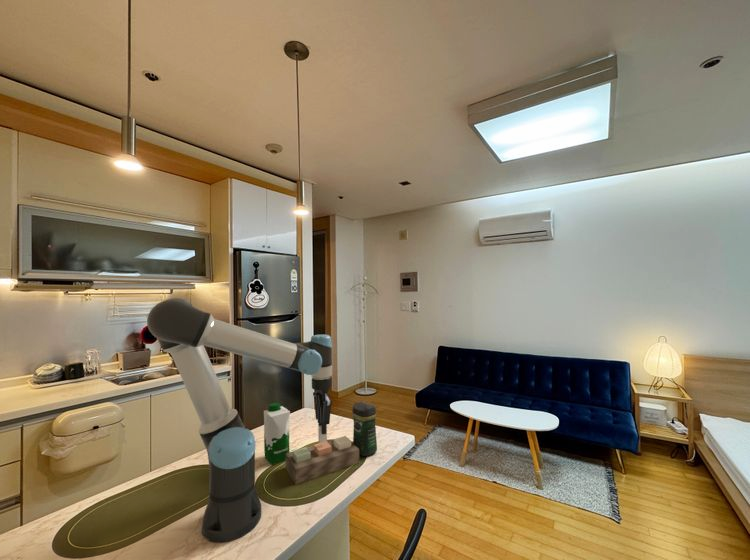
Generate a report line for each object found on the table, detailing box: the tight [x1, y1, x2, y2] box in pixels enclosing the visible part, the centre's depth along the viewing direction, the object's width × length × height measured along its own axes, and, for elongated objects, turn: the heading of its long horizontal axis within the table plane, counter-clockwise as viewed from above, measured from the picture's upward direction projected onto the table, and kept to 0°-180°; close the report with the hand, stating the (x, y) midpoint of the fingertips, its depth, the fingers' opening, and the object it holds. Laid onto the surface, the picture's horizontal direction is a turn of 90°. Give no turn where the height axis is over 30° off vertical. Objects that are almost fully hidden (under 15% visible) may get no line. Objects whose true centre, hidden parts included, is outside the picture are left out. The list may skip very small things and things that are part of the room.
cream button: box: [333, 435, 352, 450], centre depth 120 cm, size 5×5×4 cm
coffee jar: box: [351, 401, 378, 457], centre depth 126 cm, size 10×8×19 cm
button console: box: [285, 439, 360, 485], centre depth 116 cm, size 24×12×5 cm, turn 121°
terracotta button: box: [313, 441, 332, 457], centre depth 116 cm, size 5×5×4 cm
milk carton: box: [263, 402, 291, 466], centre depth 121 cm, size 9×9×20 cm
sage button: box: [291, 446, 311, 463], centre depth 111 cm, size 5×5×4 cm
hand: (322, 441), depth 116 cm, fingers closed
